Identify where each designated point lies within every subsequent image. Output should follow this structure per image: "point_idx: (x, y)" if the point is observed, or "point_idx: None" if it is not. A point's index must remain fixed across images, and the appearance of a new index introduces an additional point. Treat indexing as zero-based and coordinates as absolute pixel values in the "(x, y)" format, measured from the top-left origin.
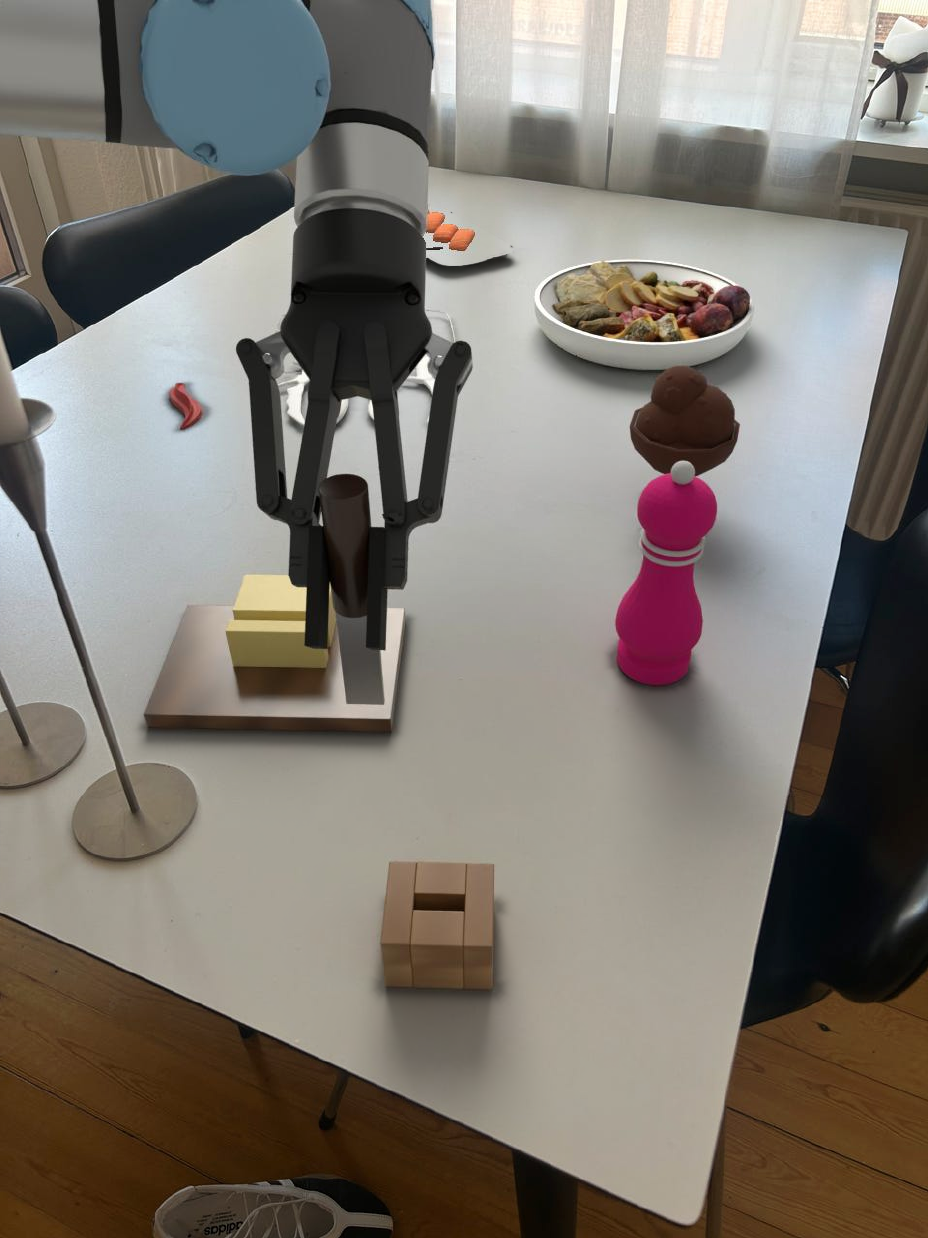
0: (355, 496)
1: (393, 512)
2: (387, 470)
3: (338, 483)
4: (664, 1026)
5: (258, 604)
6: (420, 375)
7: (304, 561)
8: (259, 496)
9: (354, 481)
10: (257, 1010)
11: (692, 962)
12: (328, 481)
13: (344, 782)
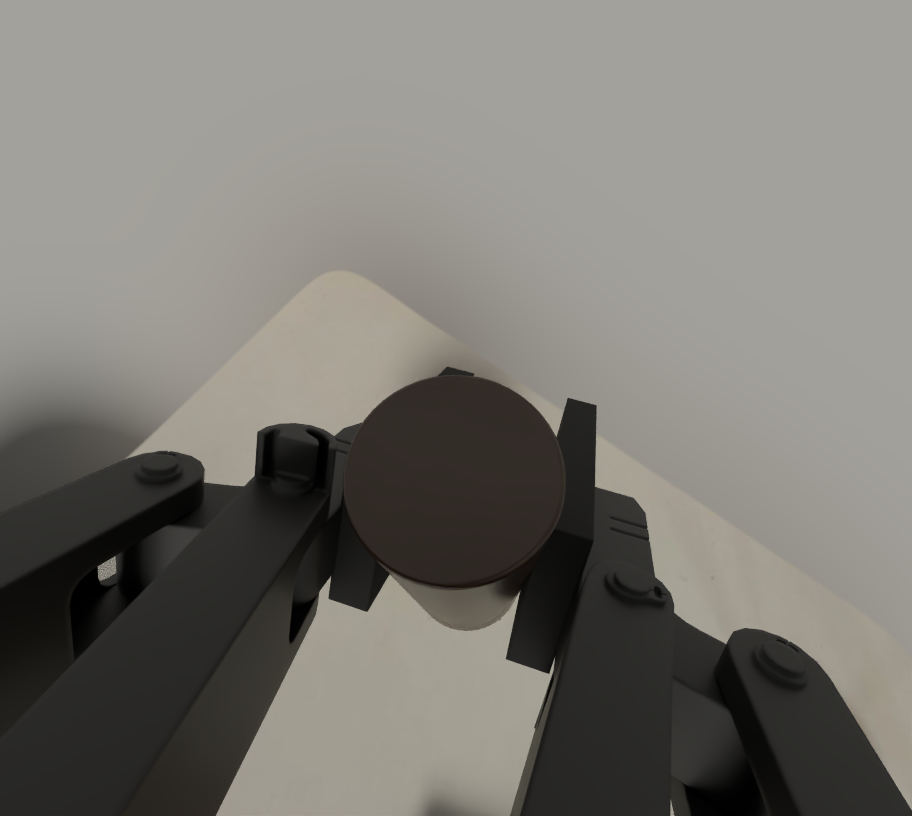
0: (417, 384)
1: (292, 478)
2: (218, 594)
3: (470, 502)
4: (282, 366)
5: None
6: None
7: (601, 519)
8: (826, 693)
9: (396, 497)
10: (616, 458)
11: (228, 408)
12: (514, 527)
13: (503, 743)
